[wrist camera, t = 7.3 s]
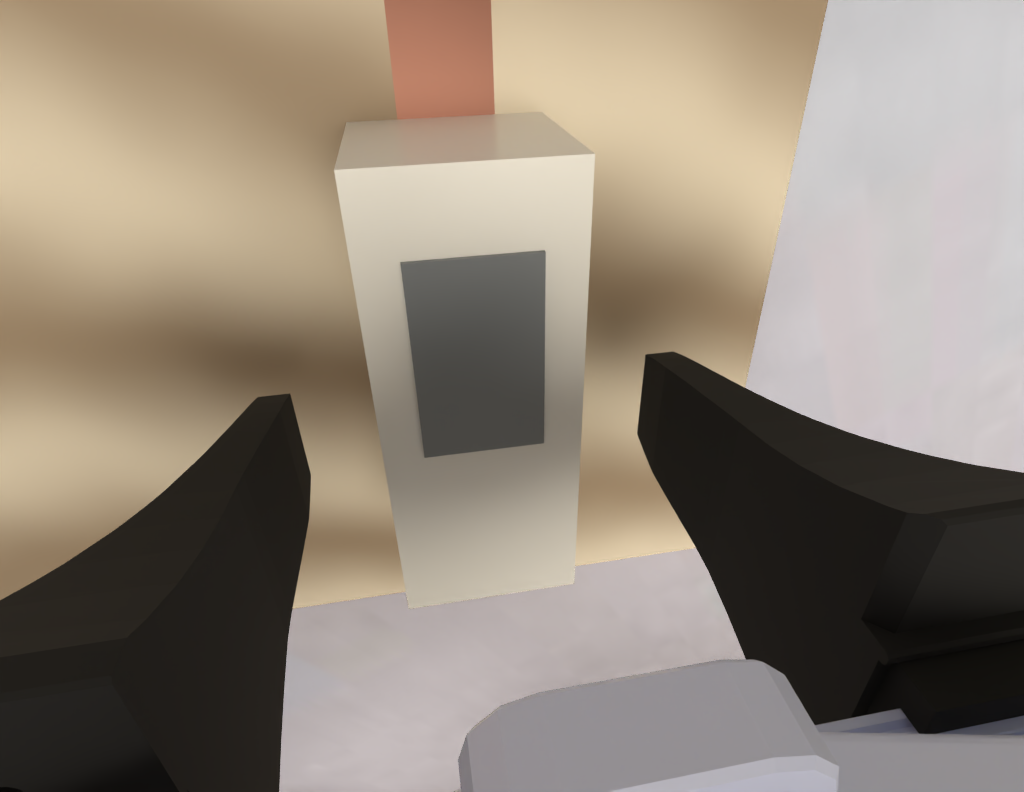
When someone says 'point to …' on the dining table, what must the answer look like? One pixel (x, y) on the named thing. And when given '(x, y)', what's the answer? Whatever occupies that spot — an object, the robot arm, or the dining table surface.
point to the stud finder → (473, 340)
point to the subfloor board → (322, 244)
